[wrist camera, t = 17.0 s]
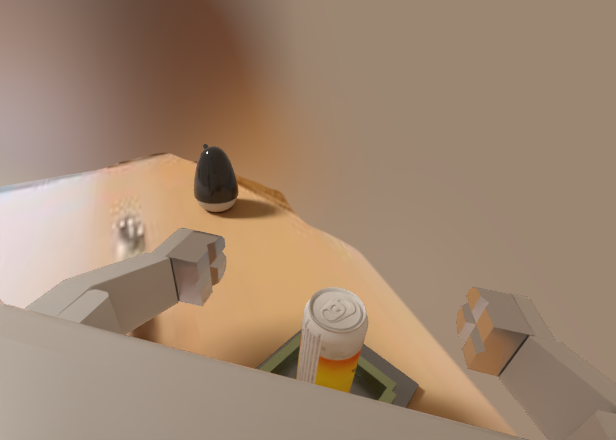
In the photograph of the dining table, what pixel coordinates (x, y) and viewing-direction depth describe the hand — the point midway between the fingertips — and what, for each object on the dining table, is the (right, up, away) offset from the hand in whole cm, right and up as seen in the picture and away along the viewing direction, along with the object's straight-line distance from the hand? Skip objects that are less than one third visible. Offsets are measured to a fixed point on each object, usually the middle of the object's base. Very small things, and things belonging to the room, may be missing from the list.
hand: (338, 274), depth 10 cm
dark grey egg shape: (-23, +5, +63) cm, 68 cm away
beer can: (0, -19, +25) cm, 31 cm away
